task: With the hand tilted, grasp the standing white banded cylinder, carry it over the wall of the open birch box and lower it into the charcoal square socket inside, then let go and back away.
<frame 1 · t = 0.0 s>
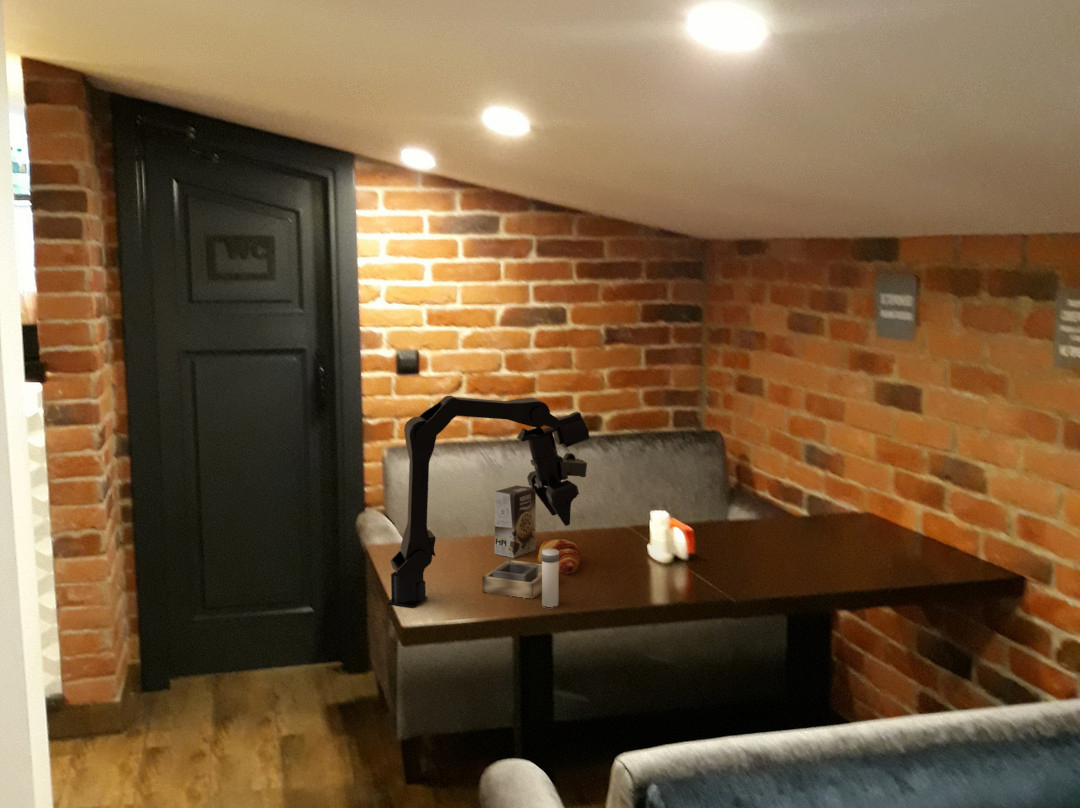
hand: (560, 519, 238), 15 cm above the table, tool pointing down, fingers open, 9 cm apart
coffee box: (515, 553, 267), on the table
white banded cylinder: (550, 605, 228), on the table
croissant: (559, 566, 257), on the table
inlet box: (520, 586, 240), on the table
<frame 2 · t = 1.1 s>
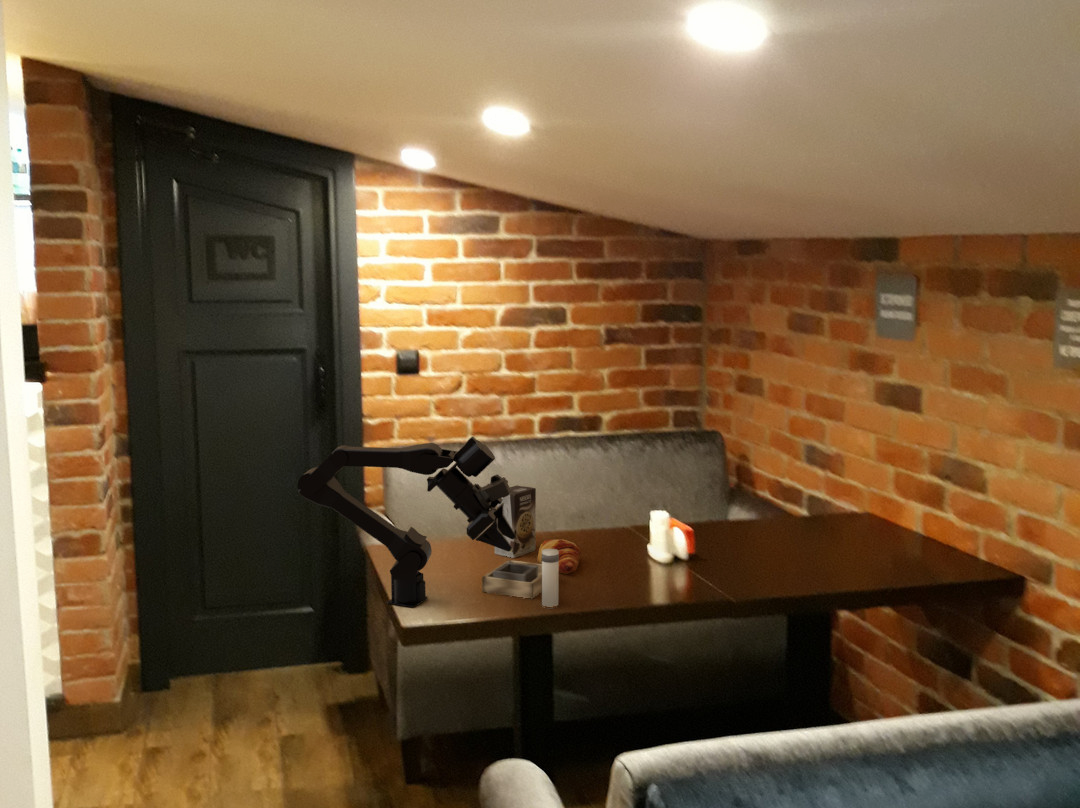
hand: (512, 543, 226), 13 cm above the table, tool tilted 45°, fingers open, 9 cm apart
nothing on the table moved.
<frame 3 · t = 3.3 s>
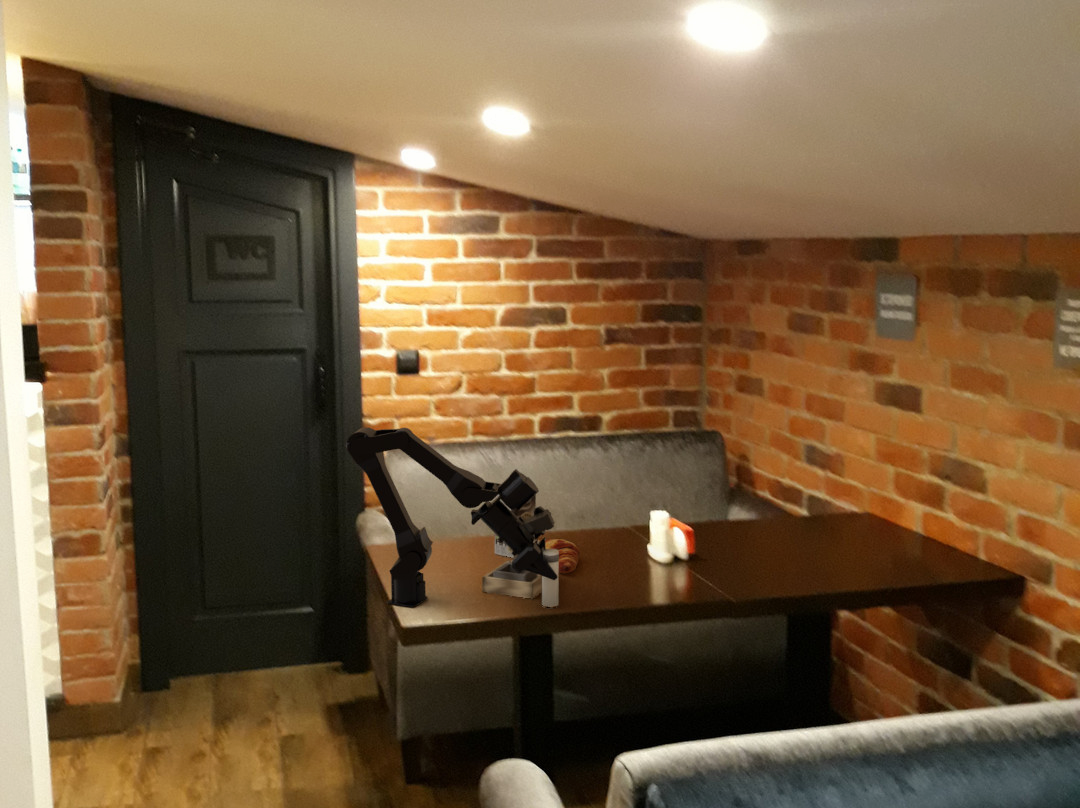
hand: (556, 575, 227), 7 cm above the table, tool tilted 45°, fingers closed on white banded cylinder, 3 cm apart
white banded cylinder: (550, 605, 228), on the table, touching gripper
everything else where it was.
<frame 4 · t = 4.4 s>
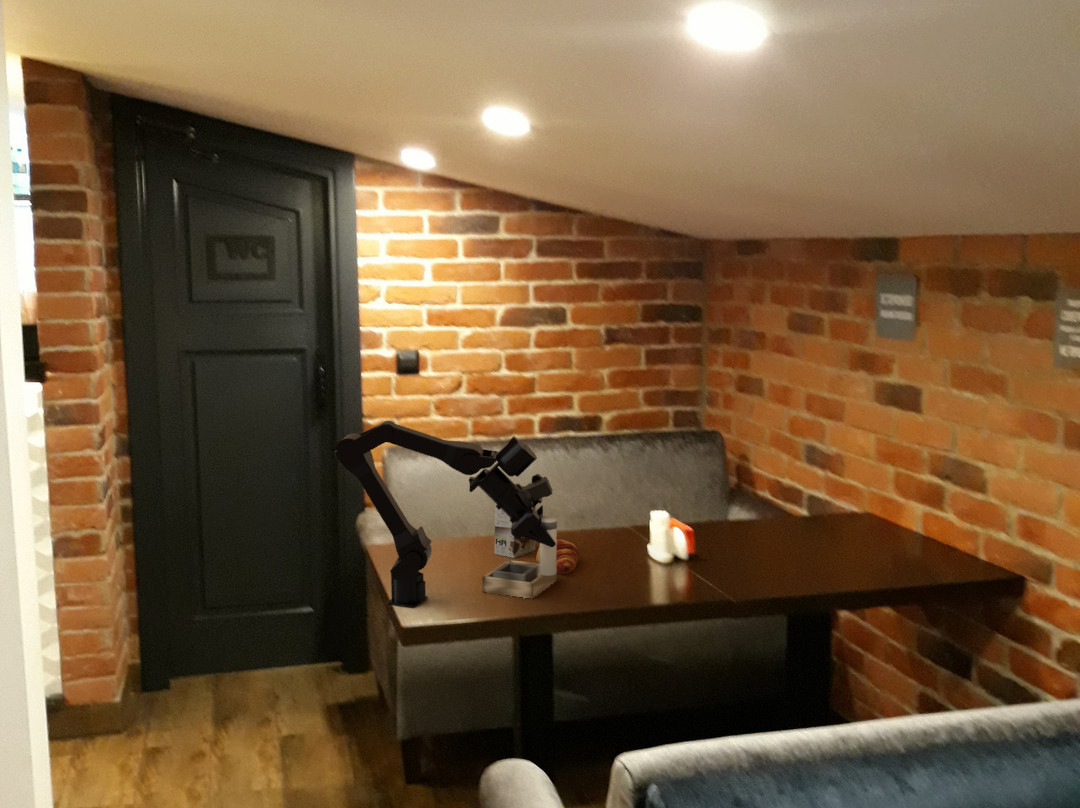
hand: (554, 543, 227), 13 cm above the table, tool tilted 45°, fingers closed on white banded cylinder, 3 cm apart
white banded cylinder: (547, 573, 228), point 7 cm above the table, touching gripper
everything else where it was.
when the fingers open (8 cm above the table, at t = 6.7 s): white banded cylinder drops 1 cm, resting on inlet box.
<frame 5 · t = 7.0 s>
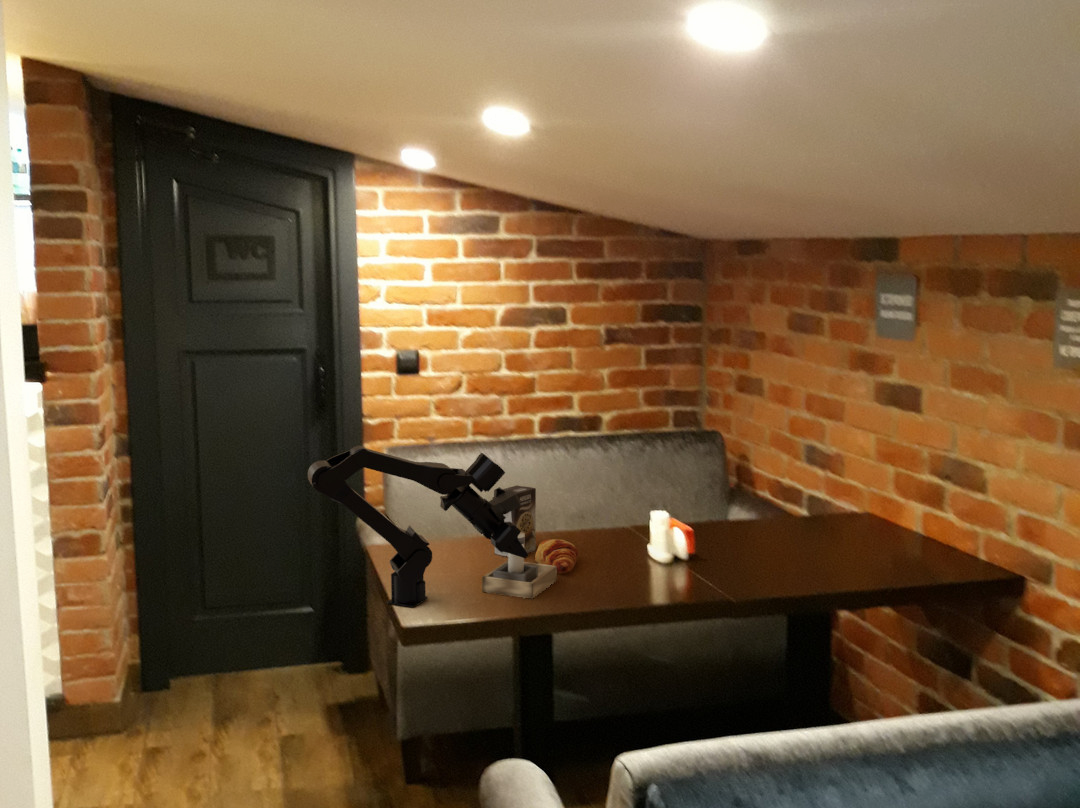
hand: (521, 552, 237), 9 cm above the table, tool tilted 45°, fingers open, 7 cm apart
white banded cylinder: (515, 586, 238), point 1 cm above the table, touching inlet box
everything else where it was.
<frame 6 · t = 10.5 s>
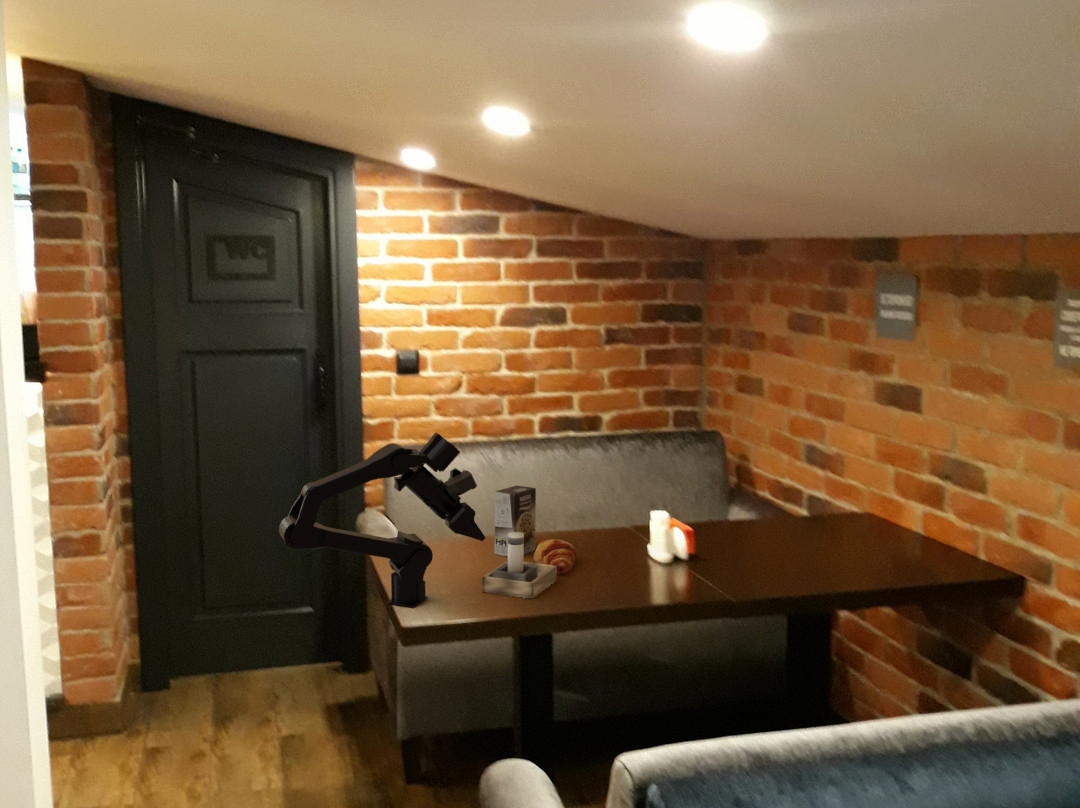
hand: (478, 533, 233), 14 cm above the table, tool tilted 45°, fingers open, 9 cm apart
at the end: white banded cylinder 0.0 cm from the target spot on the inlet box, point 0.8 cm above the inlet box's base; white banded cylinder tilted 0°; the gripper is holding nothing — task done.
